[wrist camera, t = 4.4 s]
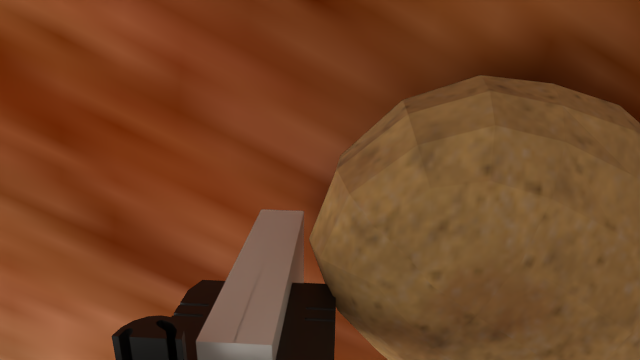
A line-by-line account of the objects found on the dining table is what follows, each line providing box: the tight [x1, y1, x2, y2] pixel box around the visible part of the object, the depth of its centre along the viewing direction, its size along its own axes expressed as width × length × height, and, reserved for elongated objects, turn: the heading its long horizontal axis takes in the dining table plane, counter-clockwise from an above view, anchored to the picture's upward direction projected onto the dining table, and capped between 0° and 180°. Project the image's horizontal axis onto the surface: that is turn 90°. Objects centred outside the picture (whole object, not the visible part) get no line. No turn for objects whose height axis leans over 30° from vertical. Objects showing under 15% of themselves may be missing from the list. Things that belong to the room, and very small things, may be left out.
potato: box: [309, 75, 640, 360], centre depth 12 cm, size 10×14×8 cm
